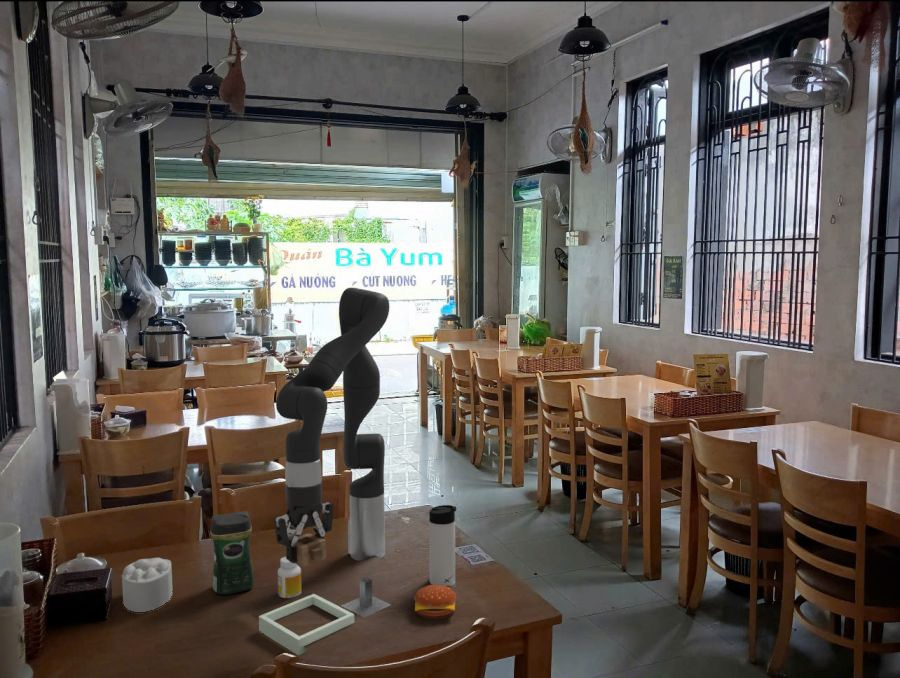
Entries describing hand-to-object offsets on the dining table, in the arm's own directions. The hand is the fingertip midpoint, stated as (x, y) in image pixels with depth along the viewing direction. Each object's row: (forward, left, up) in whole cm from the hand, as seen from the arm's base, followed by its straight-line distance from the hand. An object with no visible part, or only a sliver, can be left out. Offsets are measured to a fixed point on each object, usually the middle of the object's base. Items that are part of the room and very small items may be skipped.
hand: (305, 557), depth 153 cm
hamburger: (+16, +23, -17) cm, 32 cm away
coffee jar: (-30, 0, -16) cm, 34 cm away
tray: (0, 0, -16) cm, 16 cm away
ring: (0, 0, 0) cm, 0 cm away
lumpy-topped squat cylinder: (-39, -17, -16) cm, 46 cm away
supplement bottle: (-15, +6, -16) cm, 23 cm away
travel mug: (+7, +35, -16) cm, 39 cm away
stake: (+3, +14, -16) cm, 22 cm away
